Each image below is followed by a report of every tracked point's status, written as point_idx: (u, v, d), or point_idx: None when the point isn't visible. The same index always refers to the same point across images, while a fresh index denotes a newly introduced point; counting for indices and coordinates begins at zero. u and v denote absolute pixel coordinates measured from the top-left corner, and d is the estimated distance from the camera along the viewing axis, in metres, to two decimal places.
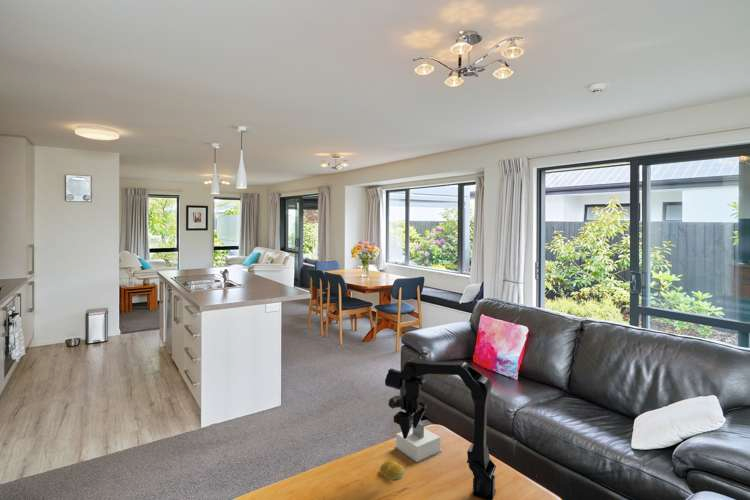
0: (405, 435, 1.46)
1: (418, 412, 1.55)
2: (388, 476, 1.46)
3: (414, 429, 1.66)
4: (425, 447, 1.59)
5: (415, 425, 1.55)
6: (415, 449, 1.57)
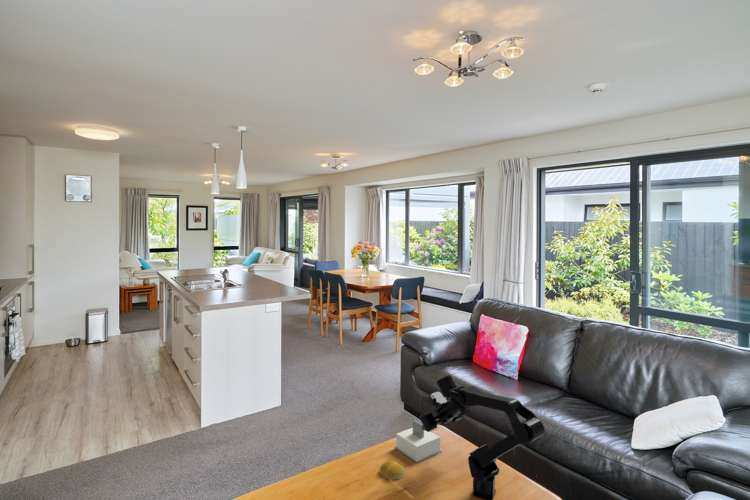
0: (423, 428, 1.55)
1: None
2: (388, 476, 1.46)
3: (414, 429, 1.66)
4: (425, 447, 1.59)
5: (440, 422, 1.61)
6: (415, 449, 1.57)
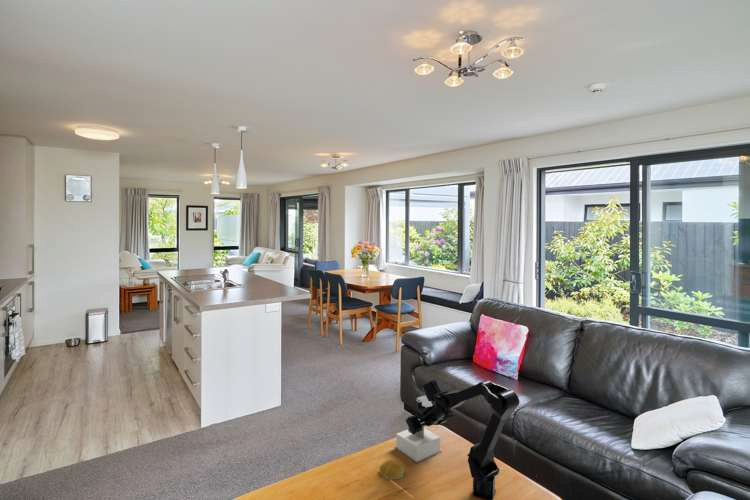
0: (409, 431, 1.61)
1: None
2: (388, 476, 1.46)
3: None
4: (425, 447, 1.59)
5: (426, 424, 1.67)
6: (415, 449, 1.57)
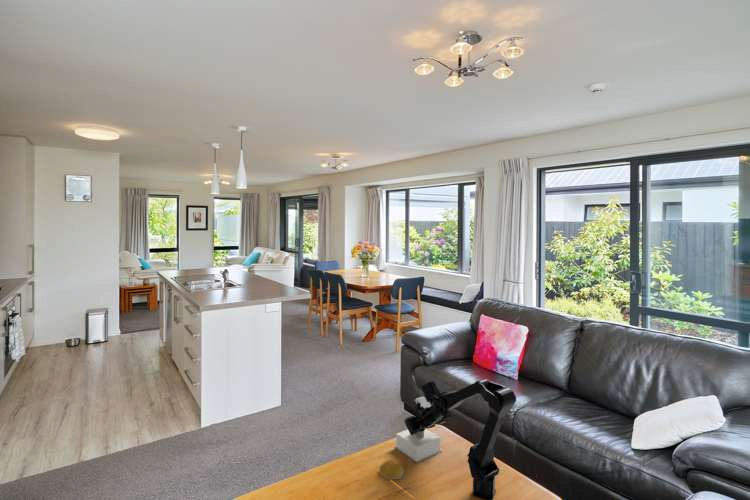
0: None
1: None
2: (387, 476, 1.46)
3: None
4: (425, 447, 1.59)
5: None
6: (415, 449, 1.57)
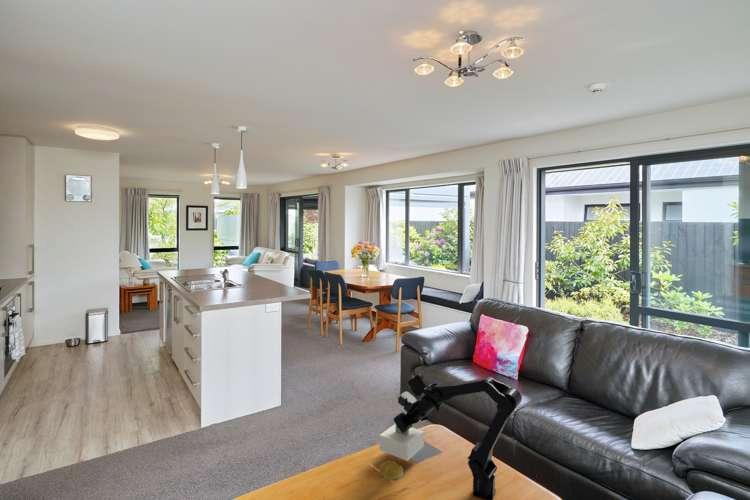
0: None
1: None
2: (387, 476, 1.46)
3: None
4: (413, 443, 1.52)
5: None
6: (404, 448, 1.49)
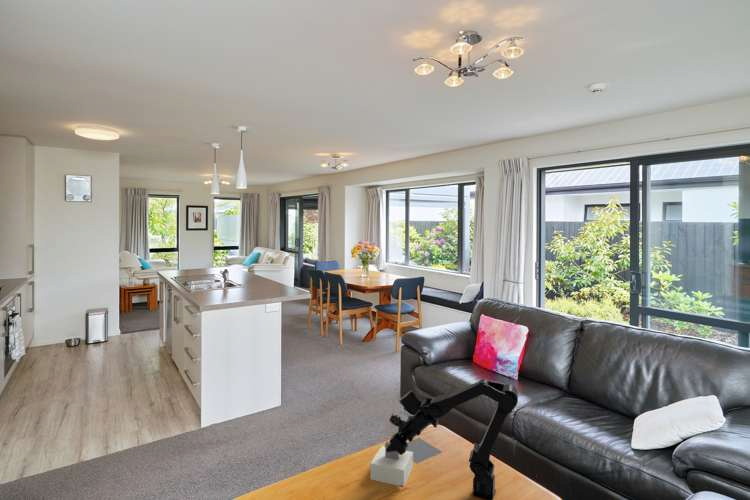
0: (389, 450, 1.46)
1: None
2: None
3: (388, 452, 1.49)
4: (407, 467, 1.46)
5: None
6: (400, 473, 1.42)
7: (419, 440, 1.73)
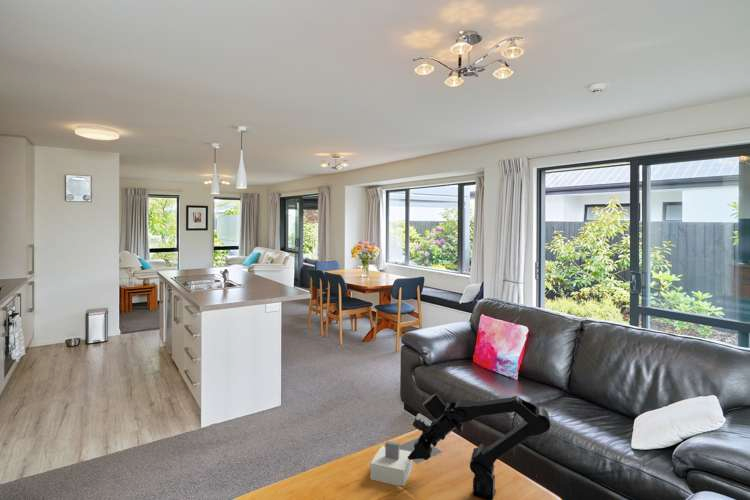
0: (411, 458, 1.41)
1: None
2: None
3: (388, 452, 1.49)
4: (407, 467, 1.46)
5: None
6: (400, 473, 1.42)
7: None
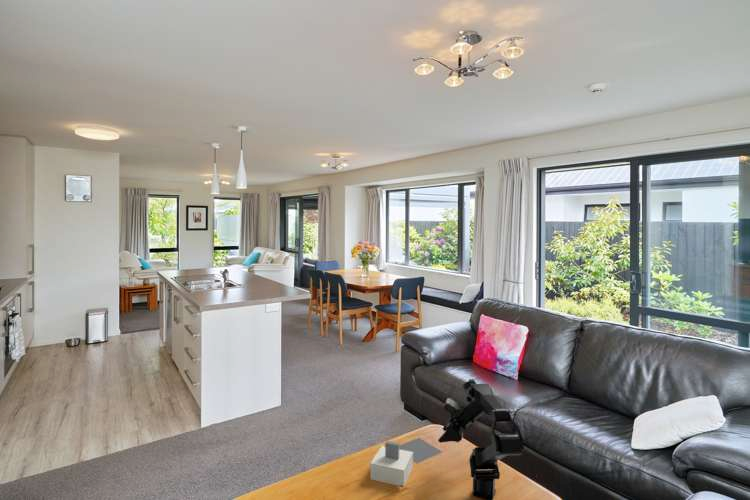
0: (442, 440, 1.46)
1: None
2: None
3: (388, 452, 1.49)
4: (407, 467, 1.46)
5: None
6: (400, 473, 1.42)
7: (419, 440, 1.73)
